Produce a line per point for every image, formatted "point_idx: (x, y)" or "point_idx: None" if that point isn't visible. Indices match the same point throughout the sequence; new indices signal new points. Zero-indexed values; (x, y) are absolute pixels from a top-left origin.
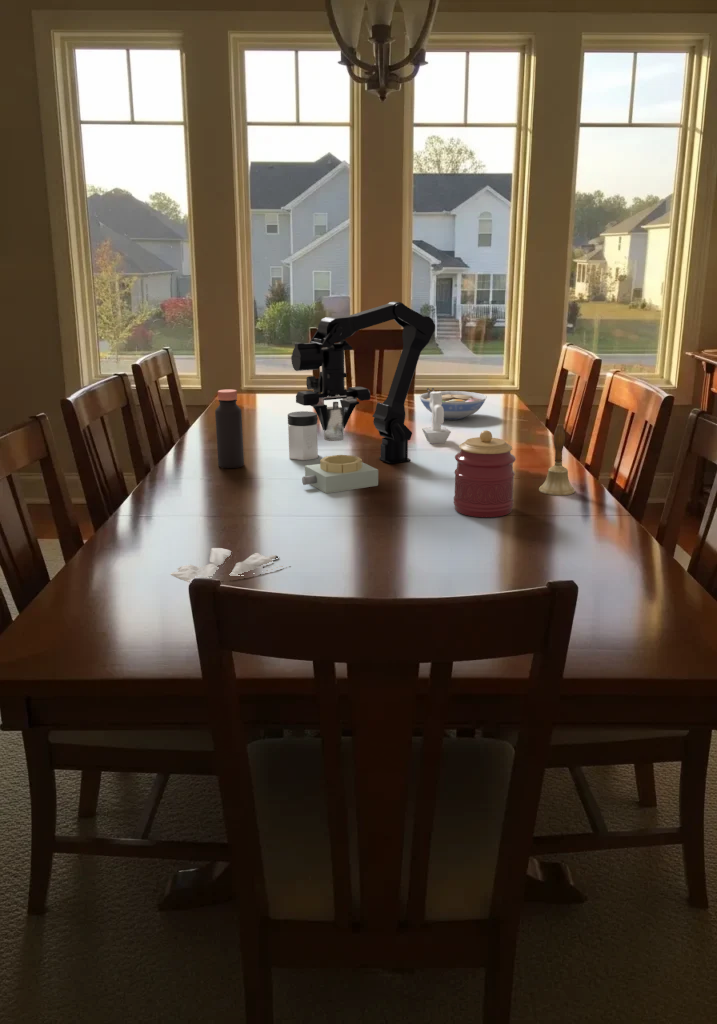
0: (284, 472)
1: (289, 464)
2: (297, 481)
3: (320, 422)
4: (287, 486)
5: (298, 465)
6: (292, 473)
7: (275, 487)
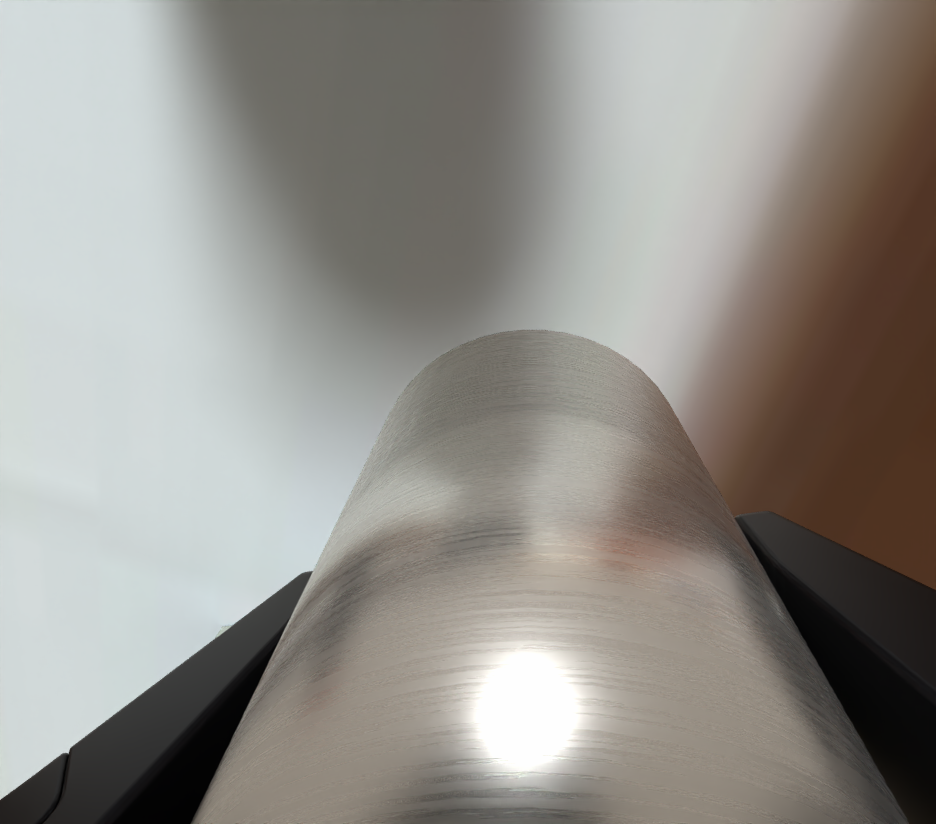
0: (62, 332)
1: (101, 15)
2: (167, 607)
3: (193, 667)
4: (98, 687)
5: (197, 96)
6: (132, 386)
7: (22, 683)
